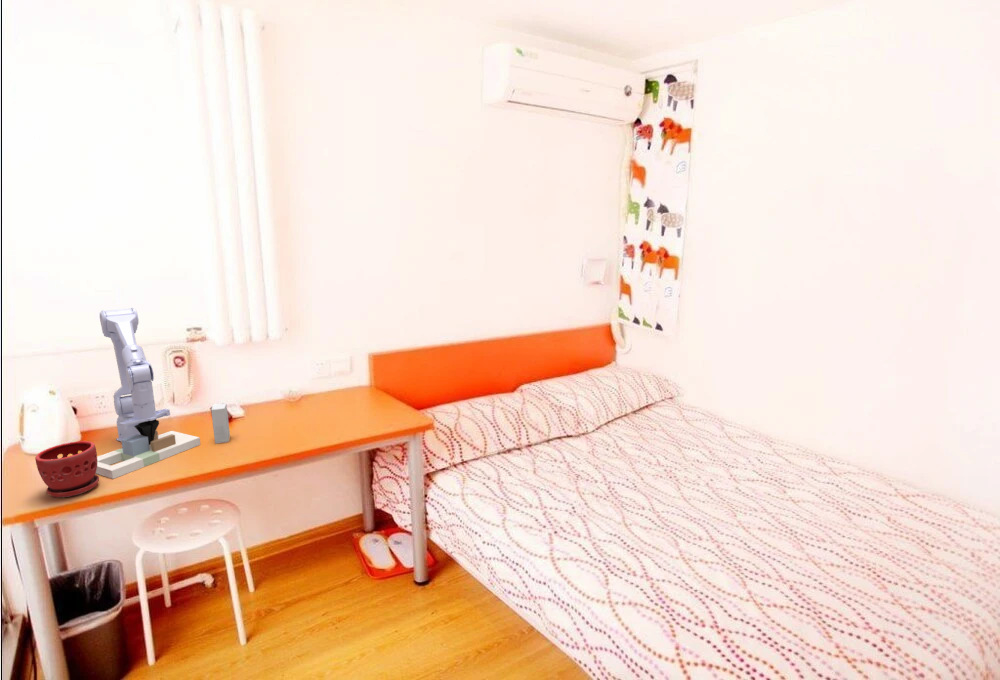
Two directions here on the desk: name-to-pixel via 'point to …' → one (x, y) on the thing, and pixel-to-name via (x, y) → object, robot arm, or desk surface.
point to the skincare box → (220, 423)
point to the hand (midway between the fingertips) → (149, 443)
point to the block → (135, 445)
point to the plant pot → (68, 468)
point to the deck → (145, 454)
